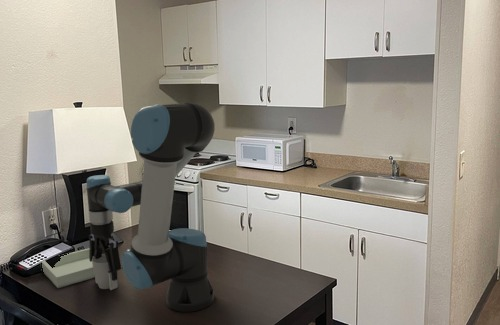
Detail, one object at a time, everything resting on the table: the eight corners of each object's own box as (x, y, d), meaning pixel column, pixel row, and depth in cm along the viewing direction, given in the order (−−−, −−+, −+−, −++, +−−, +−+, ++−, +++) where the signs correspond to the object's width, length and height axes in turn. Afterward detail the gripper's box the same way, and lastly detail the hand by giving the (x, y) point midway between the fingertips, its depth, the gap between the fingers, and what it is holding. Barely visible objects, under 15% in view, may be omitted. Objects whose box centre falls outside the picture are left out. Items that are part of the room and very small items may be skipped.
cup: (114, 291, 153) (112, 263, 151) (90, 291, 153) (88, 263, 151) (121, 280, 161) (119, 253, 159) (99, 280, 161) (96, 253, 159)
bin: (111, 272, 168) (111, 262, 167) (57, 288, 156) (56, 277, 155) (92, 257, 183) (91, 247, 182) (41, 270, 171) (40, 260, 170)
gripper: (129, 224, 149) (134, 289, 154) (94, 213, 162) (99, 273, 166) (109, 230, 144) (114, 297, 148) (74, 218, 156) (80, 281, 161)
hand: (106, 285), depth 157 cm, fingers closed on cup, 8 cm apart
